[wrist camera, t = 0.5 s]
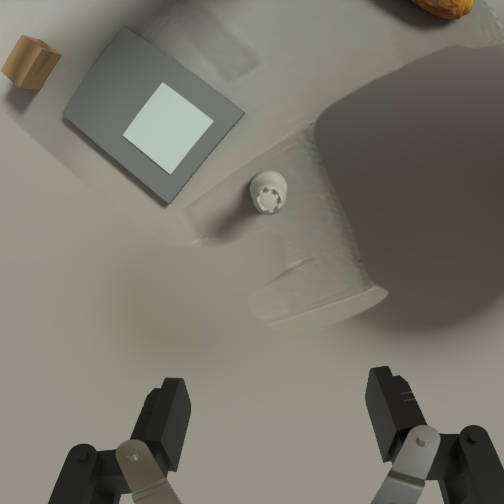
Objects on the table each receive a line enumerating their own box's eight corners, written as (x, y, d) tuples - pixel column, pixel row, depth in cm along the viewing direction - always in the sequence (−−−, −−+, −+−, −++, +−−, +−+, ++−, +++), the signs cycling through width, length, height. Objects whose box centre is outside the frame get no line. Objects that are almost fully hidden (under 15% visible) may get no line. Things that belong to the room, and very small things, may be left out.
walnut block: (21, 74, 32) (0, 71, 27) (41, 40, 30) (22, 34, 25) (40, 90, 33) (19, 87, 28) (62, 55, 31) (42, 49, 27)
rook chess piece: (266, 214, 38) (266, 232, 31) (241, 186, 37) (235, 197, 30) (294, 190, 37) (302, 203, 30) (270, 161, 36) (272, 167, 29)
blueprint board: (66, 114, 34) (61, 113, 33) (127, 29, 30) (123, 26, 29) (171, 202, 38) (168, 204, 37) (245, 113, 34) (244, 112, 33)
